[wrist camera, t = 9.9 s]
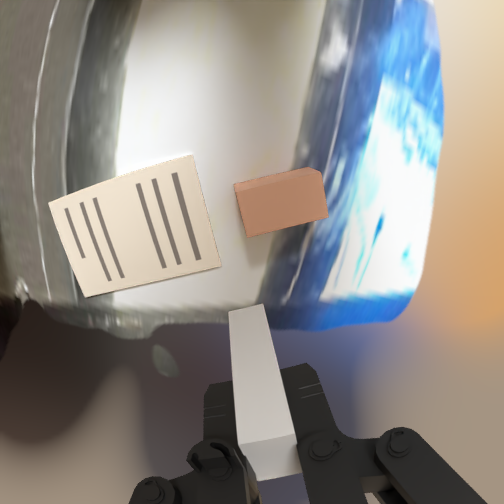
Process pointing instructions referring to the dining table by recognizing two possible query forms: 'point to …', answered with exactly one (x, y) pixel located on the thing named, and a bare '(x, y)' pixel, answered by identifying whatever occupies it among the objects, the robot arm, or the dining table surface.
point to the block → (281, 200)
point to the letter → (137, 228)
